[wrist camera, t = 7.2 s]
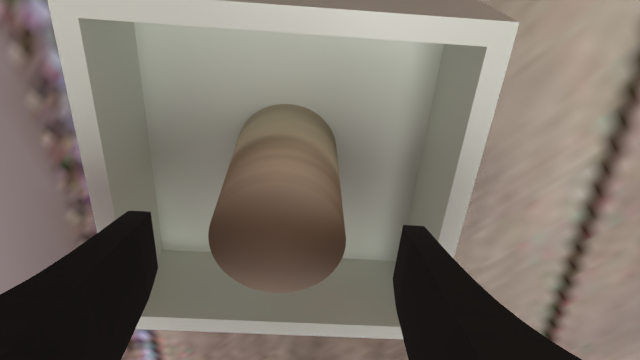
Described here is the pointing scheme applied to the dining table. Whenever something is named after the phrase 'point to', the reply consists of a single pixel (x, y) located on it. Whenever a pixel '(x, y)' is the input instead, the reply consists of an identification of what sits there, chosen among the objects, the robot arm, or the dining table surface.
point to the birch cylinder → (280, 203)
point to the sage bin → (271, 89)
